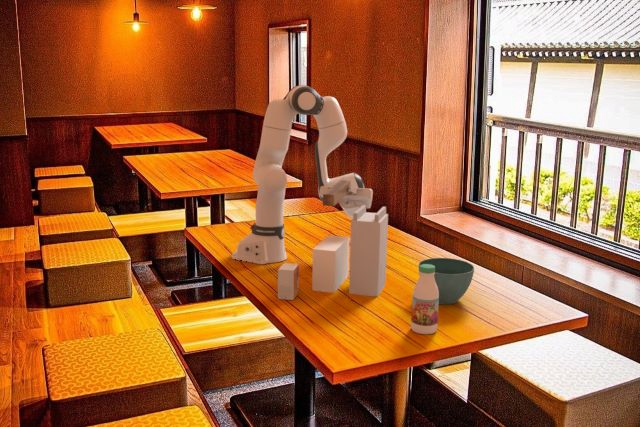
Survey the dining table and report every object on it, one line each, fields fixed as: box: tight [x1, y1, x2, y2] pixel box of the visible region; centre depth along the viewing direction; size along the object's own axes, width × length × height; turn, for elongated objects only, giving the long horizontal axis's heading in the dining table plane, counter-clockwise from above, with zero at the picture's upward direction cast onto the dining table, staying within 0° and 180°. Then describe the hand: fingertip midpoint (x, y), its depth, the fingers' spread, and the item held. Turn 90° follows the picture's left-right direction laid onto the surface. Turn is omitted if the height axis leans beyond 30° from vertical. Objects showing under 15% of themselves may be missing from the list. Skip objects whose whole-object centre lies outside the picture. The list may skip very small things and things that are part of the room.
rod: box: [322, 180, 351, 207], centre depth 237 cm, size 4×24×4 cm, turn 164°
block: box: [311, 234, 350, 294], centre depth 237 cm, size 8×20×15 cm, turn 164°
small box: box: [277, 262, 300, 301], centre depth 223 cm, size 8×6×10 cm
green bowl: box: [418, 257, 475, 305], centre depth 221 cm, size 18×18×12 cm
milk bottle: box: [410, 264, 439, 335], centre depth 195 cm, size 8×8×20 cm
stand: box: [348, 205, 389, 298], centre depth 230 cm, size 10×14×28 cm
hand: (342, 187), depth 244 cm, fingers closed on rod, 4 cm apart
